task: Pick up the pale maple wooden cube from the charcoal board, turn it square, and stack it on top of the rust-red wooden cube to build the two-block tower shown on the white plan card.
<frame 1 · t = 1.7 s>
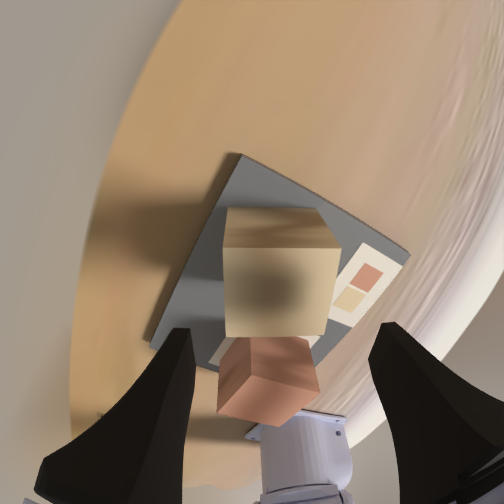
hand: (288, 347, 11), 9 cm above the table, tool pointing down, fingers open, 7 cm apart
build board: (271, 301, 21), on the table
rust block: (263, 351, 22), point 1 cm above the table, touching build board
maple block: (270, 246, 18), point 1 cm above the table, touching build board
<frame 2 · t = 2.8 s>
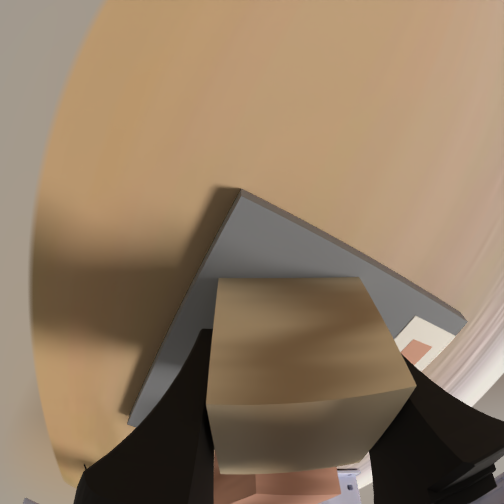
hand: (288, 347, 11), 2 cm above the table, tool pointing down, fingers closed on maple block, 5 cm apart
build board: (282, 384, 14), on the table
rust block: (269, 433, 16), point 1 cm above the table, touching build board
maple block: (285, 331, 11), point 1 cm above the table, touching build board, gripper
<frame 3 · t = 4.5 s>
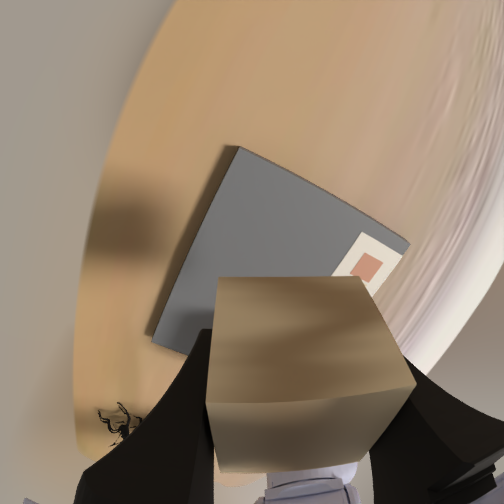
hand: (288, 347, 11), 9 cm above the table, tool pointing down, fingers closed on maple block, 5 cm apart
creature: (127, 416, 30), on the table
build board: (272, 293, 21), on the table
maple block: (285, 330, 11), point 8 cm above the table, touching gripper
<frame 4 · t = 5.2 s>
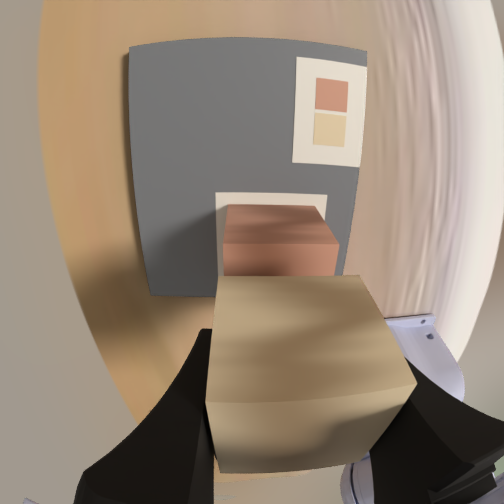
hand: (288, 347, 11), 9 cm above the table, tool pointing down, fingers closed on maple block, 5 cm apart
build board: (245, 175, 17), on the table
rust block: (270, 243, 18), point 1 cm above the table, touching build board
maple block: (285, 329, 11), point 8 cm above the table, touching gripper
when the fingers open (8 cm above the table, at t = 6.0 s): maple block stays where it is, resting on rust block.
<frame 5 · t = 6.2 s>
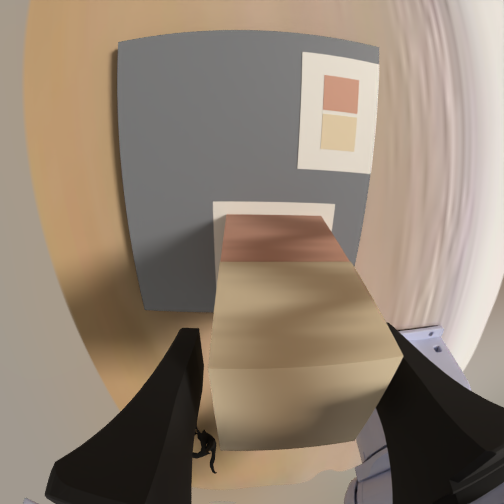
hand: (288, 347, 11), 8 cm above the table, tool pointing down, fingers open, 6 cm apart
creature: (182, 423, 27), on the table
build board: (246, 182, 15), on the table
rust block: (272, 256, 17), point 1 cm above the table, touching build board, maple block
maple block: (282, 313, 12), point 6 cm above the table, touching rust block
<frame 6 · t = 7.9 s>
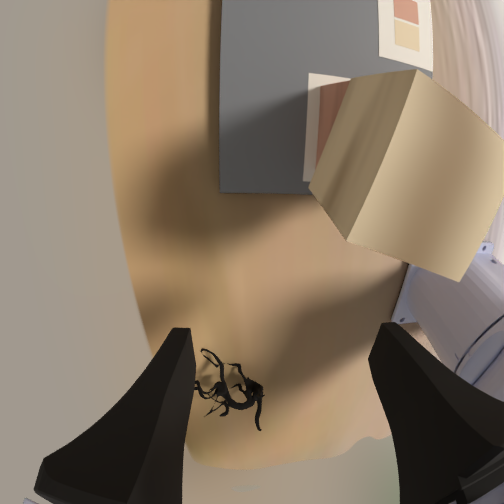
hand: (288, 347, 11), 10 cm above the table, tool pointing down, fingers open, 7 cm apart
creature: (222, 372, 26), on the table
build board: (334, 65, 14), on the table
rust block: (359, 132, 15), point 1 cm above the table, touching build board, maple block
maple block: (381, 155, 11), point 6 cm above the table, touching rust block
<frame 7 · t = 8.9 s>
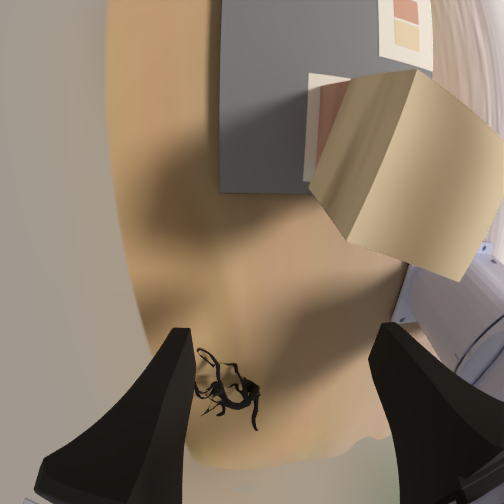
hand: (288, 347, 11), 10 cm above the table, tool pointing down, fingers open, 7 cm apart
creature: (218, 372, 26), on the table
build board: (334, 65, 14), on the table
rust block: (359, 132, 15), point 1 cm above the table, touching build board, maple block
maple block: (381, 155, 11), point 6 cm above the table, touching rust block
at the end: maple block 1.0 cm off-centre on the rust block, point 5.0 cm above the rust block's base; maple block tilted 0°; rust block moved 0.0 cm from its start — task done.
